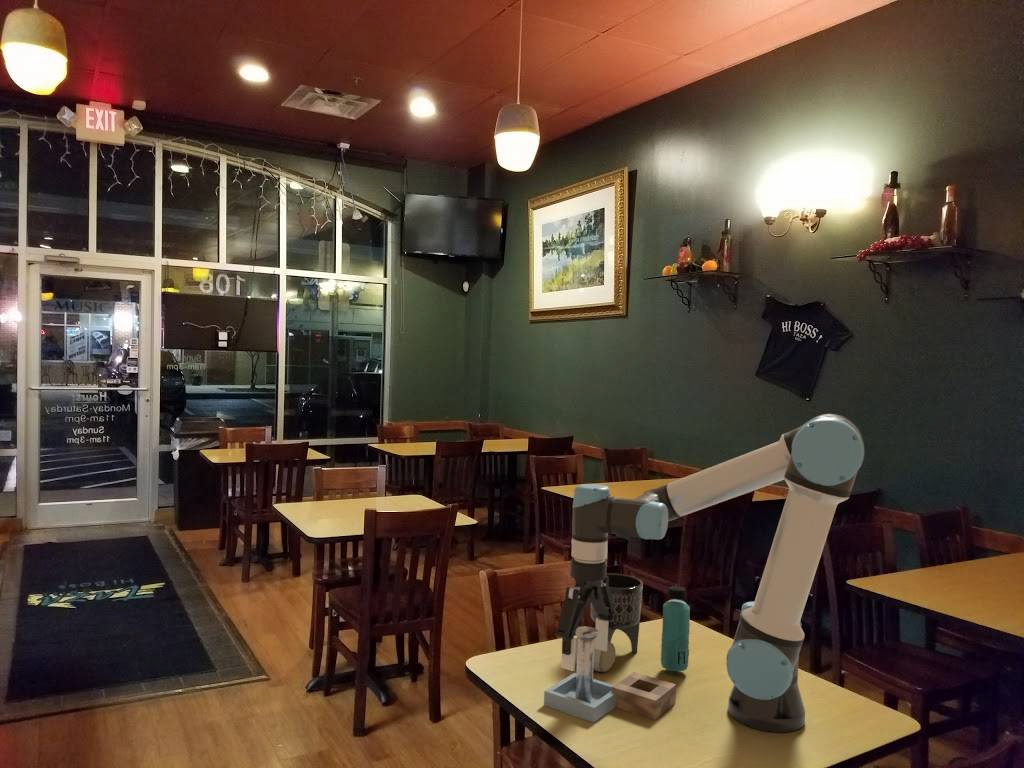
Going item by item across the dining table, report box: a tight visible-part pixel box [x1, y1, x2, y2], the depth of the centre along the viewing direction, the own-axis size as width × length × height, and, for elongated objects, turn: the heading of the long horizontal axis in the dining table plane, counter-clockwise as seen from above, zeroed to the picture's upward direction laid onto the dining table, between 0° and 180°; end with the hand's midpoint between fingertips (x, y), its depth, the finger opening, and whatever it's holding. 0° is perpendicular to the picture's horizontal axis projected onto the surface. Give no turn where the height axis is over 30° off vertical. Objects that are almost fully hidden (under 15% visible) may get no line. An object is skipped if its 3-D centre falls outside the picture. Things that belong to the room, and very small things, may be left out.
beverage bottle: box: [660, 585, 691, 672], centre depth 179 cm, size 6×7×20 cm
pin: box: [575, 626, 598, 703], centre depth 161 cm, size 5×5×15 cm
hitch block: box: [612, 671, 677, 721], centre depth 162 cm, size 10×10×4 cm
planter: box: [590, 573, 644, 654], centre depth 191 cm, size 13×13×18 cm
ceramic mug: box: [575, 636, 616, 673], centre depth 181 cm, size 11×8×8 cm
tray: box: [543, 672, 616, 723], centre depth 161 cm, size 12×12×3 cm
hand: (585, 659), depth 161 cm, fingers open, 13 cm apart
